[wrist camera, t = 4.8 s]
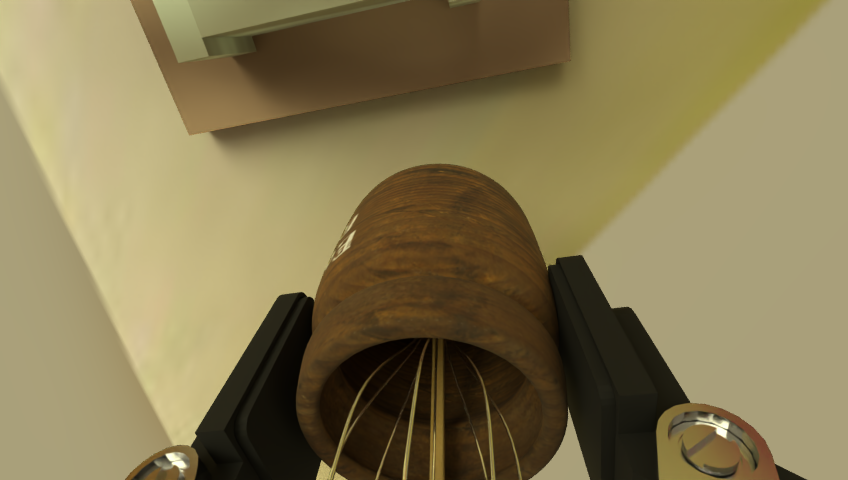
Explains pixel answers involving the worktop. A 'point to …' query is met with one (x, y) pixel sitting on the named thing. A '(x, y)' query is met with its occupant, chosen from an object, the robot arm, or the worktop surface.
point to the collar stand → (337, 50)
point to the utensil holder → (434, 338)
